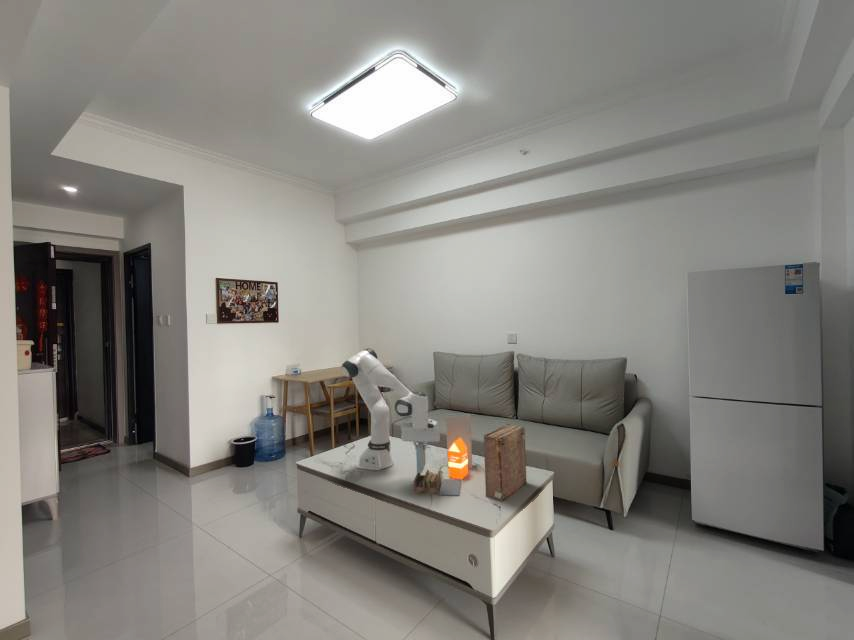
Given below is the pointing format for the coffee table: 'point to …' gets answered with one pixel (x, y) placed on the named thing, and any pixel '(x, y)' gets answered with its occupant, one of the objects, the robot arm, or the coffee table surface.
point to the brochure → (459, 432)
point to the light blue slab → (420, 457)
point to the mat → (450, 487)
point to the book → (504, 461)
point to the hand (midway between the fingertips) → (420, 449)
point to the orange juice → (458, 460)
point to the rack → (425, 489)
